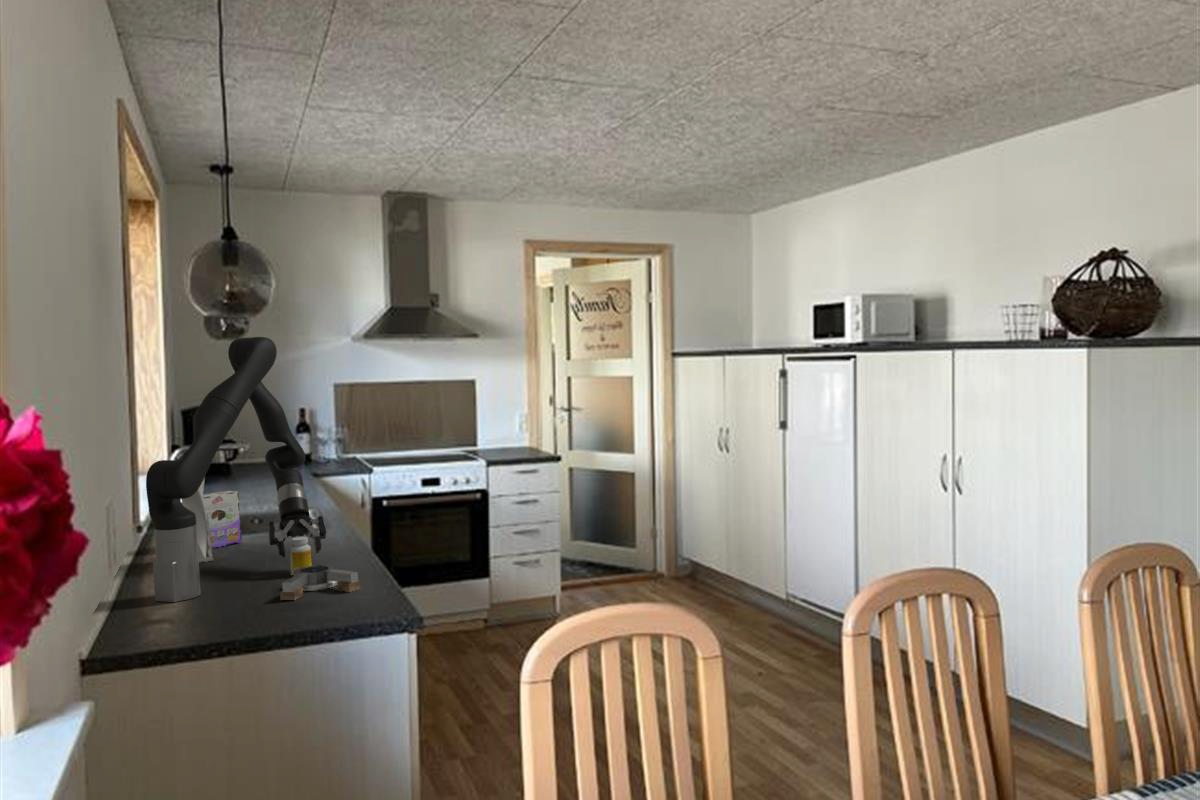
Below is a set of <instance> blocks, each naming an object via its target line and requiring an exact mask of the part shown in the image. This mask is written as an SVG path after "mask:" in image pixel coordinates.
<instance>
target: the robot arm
mask: <svg viewBox="0 0 1200 800" xmlns="http://www.w3.org/2000/svg"><path fill="white" fill-rule="evenodd" d="M277 351H278V350H277V346H276V344H275V342H274V341H273V340H272V339H270V338H269V337H264V336H254V337H241V338H236V339H233V341H232V342H231V343H230V345H229V346H228V351H227V352H228V353H227V354H228V359H229V363H230V365H231V367H232V369H233V371H234V373H233V374H232V375H231V376H229V377H228V378H227V379H225V380H223V381H222V382H221V383H220V384H219V383H218V384H217V386H215V387H214V388H212V390H210V392H208V393H207V395H205V397H204V398H203V400H202V401H201V403H200V404H199V406H198V407H197V409H196V411H195V413H194V416H193V420H192V427H193V431H192V432H193V438H192V439H193V440H192V443H191V444H190V447H188V450H187V451H186V453H185V454H184V455H183V456H182V458H180V459H170V460H169V459H165V460H163V459H161V460H157V461H155V462H153V463H152V464H151V465H150V467H148V469H147V473H146V475H145V476H146V479H145V488H146V496H147V506H148V513H149V517H150V519H151V521H152V523H153V531H154V533H153V534H154V549H155V551H154V552H155V560H154V561H153V562H152V572H153V585H154V587H153V588H154V601H155V602H166V603H167V602H169V603H177V602H180V601H181V602H182V601H187V600H190V599H194V598H196V597H199V596H200V595H201V593H202V591H201V579H200V563H199V559H198V544H197V527H196V515H195V513H194V512H192V511H190V510H188V509H187V508H185V507H184V506H183V505H182V499H184V498H189V497H191V496H192V495H194V494H195V493H196V492H197V490H198V489H199V487H200V485H201V484H202V482H203V480H204V477H205V478H206V475H207V473H208V471H209V468H210V466H211V464H212V463H213V460H214V459H215V456H216V454H217V452H218V451H219V448H220V447H221V445H222V443H223V441H224V440H225V438H226V437H227V435H228V433H229V431H230V430H231V429H232V427H233V426H234V425H235V422H236V421H237V420H238V418H239V416H240V414H241V412H242V410H243V408H244V407H245V406H246V404H247V402H248V400H249V401H250V403H251V404H252V407H253V409H254V411H255V413H256V416H257V419H258V422H259V425H260V427H261V431H262V434H263V437H264V440H265V441H267V442H268V443H269V442H270V443H284V445H281V446H277V447H274V448H271V449H269V450H267V451H266V454H265V456H264V458H265V463H266V466H267V467H268V469H269V470H270V472H271V474H272V476H273V479H274V481H275V485H276V491H277V497H276V498H277V507H278V513H279V519H280V522H276V523H275V522H274V521H272V520H271V521H269V523H268V536H269V537H268V538H269V545H270V546H274V545H275V546H277V551H278V555H279V556H281V558H285V557H286V549H285V544H284V543H285V542H286V541H287V540H288V539H289V537H291V538H296V537H308V538H309V539H311V540H313V544H314V550H315V554H319V553H320V551H322V543H321V540H325V539H326V538H327V529H326V526H325V522H324V518H323V516H322V515H319V516H318V517H317V518H312V517H311V515H310V511H309V504H308V498H307V493H306V491H305V487H304V481H303V476H302V474H301V472H300V471H299V470H298V469H296V468H299V467H302V466H303V465H304V464H305V462H306V454H305V451H304V449H303V448H302V446H301V443H299V442H298V440H297V439H296V438H295V436H294V434H293V433H292V430H291V428H290V426H289V422H288V419H287V416H286V414H285V413H286V412H285V411H284V408H283V406H282V405H281V403H280V402H279V401H278V400H277V399H276V398H275V396H274V395H273V394H272V393H271V392H270V391H269V390H268V389H267V387H266V386H265V384H264V383H263V382H262V380H263V379H264V378H265V377H266V376H267V374H268V373H269V371H270V370H271V369H272V367H273V366H274V364H275V361H276V358H277ZM313 525H315V526H316V528H318V530H319V532H318V531H316V530H315V528H314V527H313ZM278 529H280V531H281V533H280V535H279V536H278V537H276V536H275V535H276V534H275V532H277V531H278Z"/></svg>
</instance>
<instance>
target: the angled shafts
mask: <svg viewBox="0 0 1200 800" xmlns="http://www.w3.org/2000/svg"><path fill="white" fill-rule="evenodd" d="M358 574H359V573H358V572H357V571H351V570H343V569H337V568H336V569H335V568H334V569H333V570H329V571H327V580H330V581H338V582H346V583H354V582H357V581H358V580H359V575H358ZM307 583H308V574H298V575H296V576H292V577H291V578H288V579H286V580H285V581H282V583H281V584H282V591H283V592H292V591H294V590H296V589H298V588H300V587H302V586H303V585H305V584H307Z"/></svg>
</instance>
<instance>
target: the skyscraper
mask: <svg viewBox="0 0 1200 800" xmlns="http://www.w3.org/2000/svg"><path fill="white" fill-rule="evenodd" d="M205 479H206V476H205V477H204V480H203V482H202V484H201V485H200V487H199V489H198V490H197V492H196V493H195V494H194V495H192V496H191V497H189V498H184V499H181V503H182V505H183V506H184V507H185V508H187V509H188V510H190V511H192V512H194V513H195V515H196V527H197V544H198V559H199V564H202V563H201V562H206V563H209V562H208V561H214V555H213V554H214V553H213V549H212V544H211V529H209V520H208V515H205V509H204V505H203V495H204V491H205ZM206 516H207V521H206Z"/></svg>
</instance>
